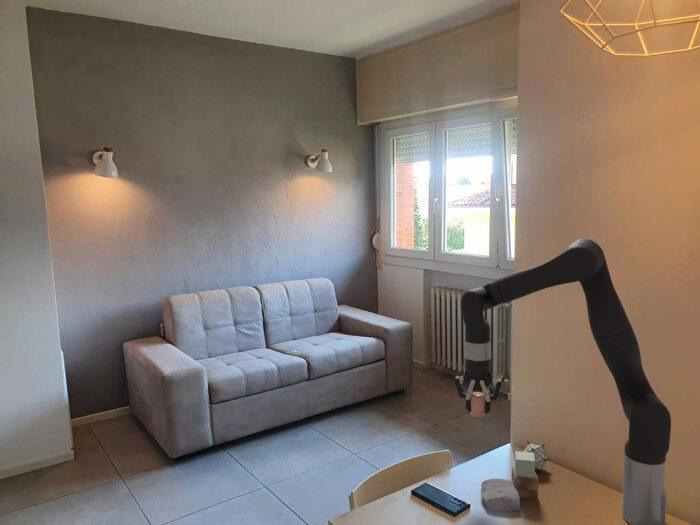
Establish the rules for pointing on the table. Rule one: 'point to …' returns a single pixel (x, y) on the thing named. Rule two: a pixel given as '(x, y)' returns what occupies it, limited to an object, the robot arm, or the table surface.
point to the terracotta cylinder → (478, 404)
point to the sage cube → (524, 464)
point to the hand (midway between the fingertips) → (478, 411)
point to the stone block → (500, 495)
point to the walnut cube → (525, 485)
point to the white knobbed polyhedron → (537, 454)
